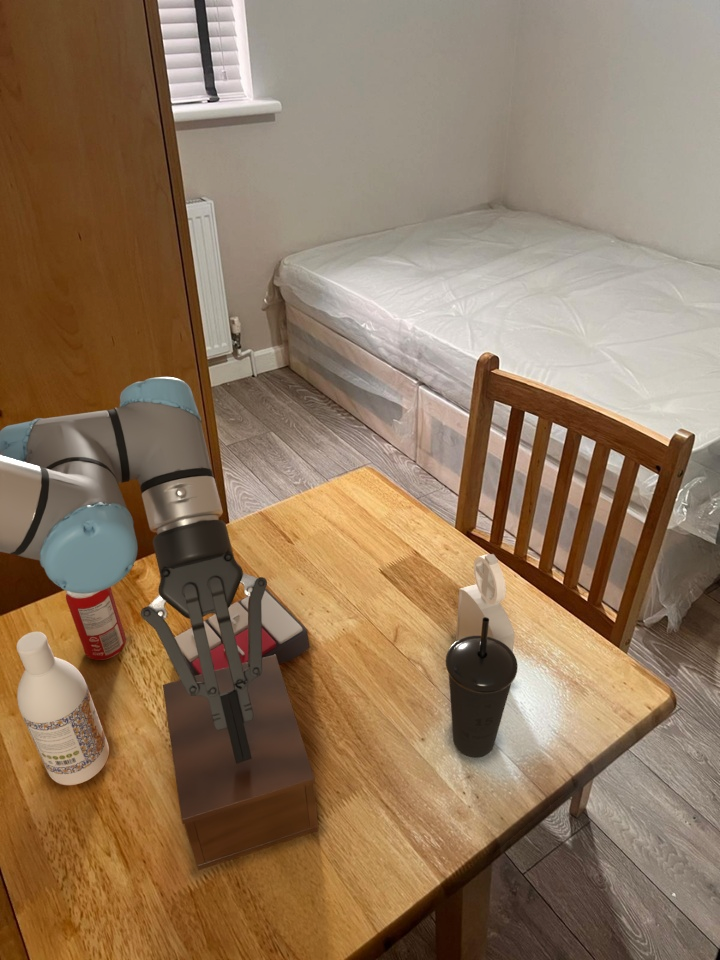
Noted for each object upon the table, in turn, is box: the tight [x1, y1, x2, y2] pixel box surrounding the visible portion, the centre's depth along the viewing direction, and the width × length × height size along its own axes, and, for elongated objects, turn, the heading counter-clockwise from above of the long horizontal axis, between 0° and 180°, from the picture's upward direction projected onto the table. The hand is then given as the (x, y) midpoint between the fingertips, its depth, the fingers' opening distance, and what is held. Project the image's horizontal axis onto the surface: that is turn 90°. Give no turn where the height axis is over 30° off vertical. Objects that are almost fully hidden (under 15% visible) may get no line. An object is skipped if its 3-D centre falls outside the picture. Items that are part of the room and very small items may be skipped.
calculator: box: [174, 588, 311, 676], centre depth 97 cm, size 11×4×15 cm
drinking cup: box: [445, 617, 518, 759], centre depth 80 cm, size 8×8×20 cm
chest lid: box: [162, 655, 316, 825], centre depth 76 cm, size 17×13×1 cm
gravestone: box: [455, 553, 516, 653], centre depth 91 cm, size 3×9×18 cm, turn 20°
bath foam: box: [16, 631, 110, 786], centre depth 80 cm, size 7×7×20 cm
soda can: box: [65, 587, 127, 661], centre depth 96 cm, size 6×6×12 cm
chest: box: [183, 783, 319, 871], centre depth 79 cm, size 16×13×10 cm
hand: (243, 758), depth 71 cm, fingers closed
